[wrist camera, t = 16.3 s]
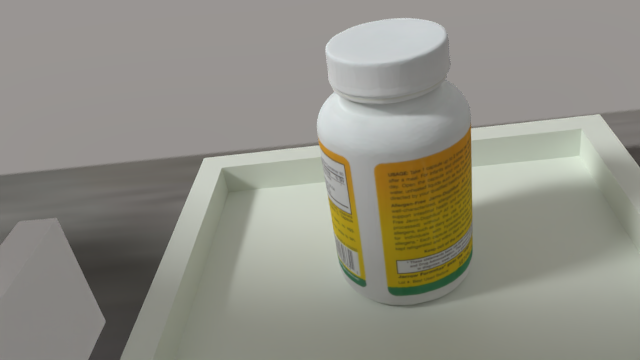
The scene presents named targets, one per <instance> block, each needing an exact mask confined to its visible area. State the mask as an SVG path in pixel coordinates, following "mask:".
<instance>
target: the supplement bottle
mask: <svg viewBox="0 0 640 360" xmlns="http://www.w3.org/2000/svg"><path fill="white" fill-rule="evenodd" d="M325 51H326V60H327V67H328V79H329V82H330V84H331V86H332V88H333V90H334V93H333V94H332V95H331V96H330V97H329V98H328V99H327V100H326V101H325V103H324V105H323V106H322V108H321V110H320V112H319V115H318V120H317V132H318V139H319V147H320V153H321V159H322V165H323V171H324V177H325V183H326V188H327V194H328V200H329V205H330V212H331V218H332V224H333V231H334V237H335V243H336V249H337V255H338V259H339V265H340V269H341V272H342V274H343V276H344V278H345V279H346V281H347V282H348V284H349V285H350V286H351V287H352V288H353V289H354V290H355V291H356V292H358V293H359V294H361V295H363V296H364V297H366V298H368V299H371V300H373V301H376V302H380V303H384V304H390V305H413V304H418V303H422V302H427V301H431V300H435V299H437V298H440V297H442V296H444V295H446V294H448V293H450V292H451V291H453V290H454V289H455V288H456V287H458V286H459V285H460V284H461V282H462V281H463V280H464V279H465V277H466V276H467V274H468V272H469V270H470V267H471V265H472V259H473V236H472V232H473V215H472V159H471V114H470V107H469V104H468V102H467V100H466V98H465V96H464V95H463V93H462V92H461V91H460V90H459V89H458V88H457V87H456V86H455V85H453V84H452V83H450V82H449V81H447V80H445V79H446V77H447V73H448V72H449V69H450V56H449V40H448V34H447V31H446V30H445V28H444V27H443V26H441V25H440V24H437V23H435V22H432V21H428V20H422V19H414V18H398V19H397V18H396V19H385V20H379V21H374V22H368V23H364V24H361V25H357V26H354V27H352V28H349V29H347V30H345V31H343V32H341V33H339V34H337V35H335V36H334V37H333V38H331V40H330V41H329V42H328V44H327V45H326V50H325Z"/></svg>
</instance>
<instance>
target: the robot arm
mask: <svg viewBox="0 0 640 360" xmlns="http://www.w3.org/2000/svg"><path fill="white" fill-rule="evenodd" d="M105 322H106V321H105V319H104V317H103V315H102V313H101V310H100V308H99V306H98V304H97V302H96V300H95V298H94V296H93V294H92V291H91V289H90V287H89V285H88V283H87V281H86V279H85V277H84V275H83V272H82V270H81V268H80V266H79V264H78V262H77V260H76V258H75V256H74V253H73V251H72V249H71V247H70V245H69V243H68V241H67V239H66V237H65V234H64V232H63V230H62V228H61V226H60V224H59V222H58V220H57V218H51V219H41V220H30V221H19V222H18V223H17V225H16V226H15V227H14V229H13V230H12V231H11V232H10V234H9V235H8V236H7V238H6V239H5V240H4V241H3V243H2V244H1V245H0V360H88V359H89V357H90V355H91V353H92V350H93V348H94V346H95V344H96V342H97V340H98V337H99V335H100V333H101V331H102V329H103V327H104V325H105Z"/></svg>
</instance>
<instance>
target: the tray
mask: <svg viewBox="0 0 640 360" xmlns="http://www.w3.org/2000/svg"><path fill="white" fill-rule="evenodd" d="M471 159H472V215H473V232H472V236H473V259H472V265H471V267H470V270H469V272H468V274H467V276H466V277H465V279H464V280H463V281H462V282H461V284H460V285H459V286H458V287H456V288H455V289H454V290H453V291H451V292H450V293H448V294H446V295H444V296H442V297H440V298H437V299H435V300H431V301H427V302H422V303H418V304H413V305H390V304H384V303H380V302H376V301H373V300H371V299H368V298H366V297H364V296H363V295H361V294H359V293H358V292H356V291H355V290H354V289H353V288H352V287H351V286H350V285H349V284H348V282H347V281H346V279H345V278H344V276H343V274H342V272H341V269H340V265H339V259H338V255H337V249H336V243H335V237H334V231H333V224H332V218H331V212H330V205H329V200H328V194H327V188H326V183H325V177H324V171H323V165H322V159H321V153H320V147H319V146H310V147H301V148H292V149H283V150H274V151H265V152H256V153H247V154H238V155H229V156H220V157H211V158H204V160H203V162H202V165H201V167H200V169H199V172H198V174H197V177H196V179H195V181H194V184H193V186H192V189H191V191H190V193H189V196H188V198H187V200H186V203H185V205H184V208H183V210H182V212H181V215H180V217H179V220H178V222H177V224H176V227H175V229H174V232H173V234H172V236H171V239H170V241H169V243H168V246H167V248H166V251H165V253H164V255H163V258H162V260H161V263H160V265H159V267H158V270H157V272H156V275H155V277H154V279H153V282H152V284H151V286H150V289H149V291H148V294H147V296H146V298H145V301H144V303H143V306H142V308H141V310H140V313H139V315H138V318H137V320H136V322H135V325H134V327H133V329H132V332H131V334H130V337H129V339H128V341H127V344H126V346H125V349H124V351H123V353H122V356H121V358H120V360H640V167H639V166H638V164H637V163H636V162H635V160H634V159H633V158H632V156H631V155H630V154H629V153H628V151H627V150H626V149H625V147H624V146H623V145H622V143H621V142H620V141H619V139H618V138H617V137H616V135H615V134H614V133H613V131H612V130H611V129H610V127H609V126H608V125H607V123H606V122H605V121H604V120H603V118H602V117H601V116H600V114H598V115H589V116H580V117H571V118H562V119H553V120H544V121H535V122H526V123H517V124H508V125H499V126H490V127H481V128H472V129H471Z"/></svg>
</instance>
